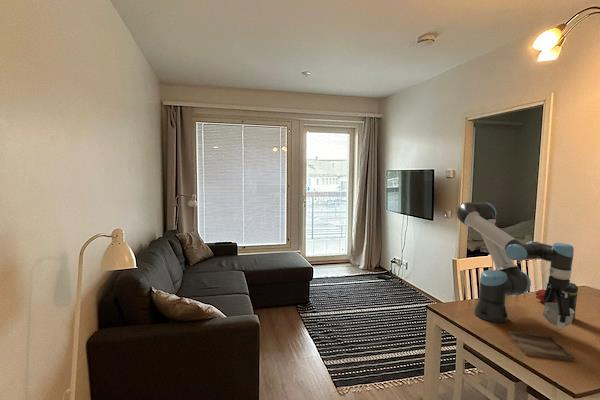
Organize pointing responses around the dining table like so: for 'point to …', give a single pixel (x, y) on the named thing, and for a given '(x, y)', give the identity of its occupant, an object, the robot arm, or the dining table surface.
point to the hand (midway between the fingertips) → (553, 322)
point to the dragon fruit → (542, 295)
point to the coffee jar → (572, 296)
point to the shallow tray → (540, 346)
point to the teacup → (555, 314)
